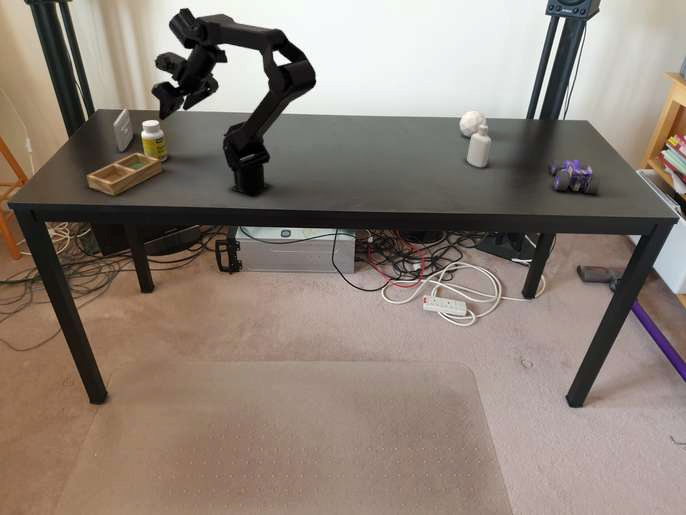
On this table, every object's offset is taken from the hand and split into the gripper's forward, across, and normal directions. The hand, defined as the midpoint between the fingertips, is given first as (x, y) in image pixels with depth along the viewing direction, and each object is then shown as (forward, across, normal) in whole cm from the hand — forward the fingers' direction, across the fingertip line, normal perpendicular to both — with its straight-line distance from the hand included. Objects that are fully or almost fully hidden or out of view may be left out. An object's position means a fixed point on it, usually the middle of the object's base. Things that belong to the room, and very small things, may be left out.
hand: (172, 114), depth 128 cm
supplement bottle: (+15, -1, +2) cm, 16 cm away
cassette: (+23, -6, -10) cm, 26 cm away
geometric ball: (-29, -54, +60) cm, 86 cm away
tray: (+16, +11, +2) cm, 19 cm away
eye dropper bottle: (-31, -36, +64) cm, 80 cm away
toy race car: (-45, -36, +84) cm, 102 cm away
